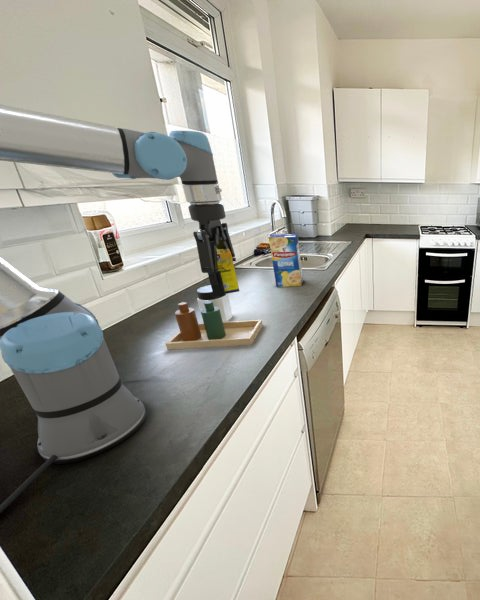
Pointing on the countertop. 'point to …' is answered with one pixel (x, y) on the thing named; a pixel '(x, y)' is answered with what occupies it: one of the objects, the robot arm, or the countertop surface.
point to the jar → (214, 302)
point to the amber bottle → (187, 323)
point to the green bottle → (213, 321)
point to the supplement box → (227, 270)
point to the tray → (234, 336)
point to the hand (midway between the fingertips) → (226, 289)
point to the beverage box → (286, 259)
